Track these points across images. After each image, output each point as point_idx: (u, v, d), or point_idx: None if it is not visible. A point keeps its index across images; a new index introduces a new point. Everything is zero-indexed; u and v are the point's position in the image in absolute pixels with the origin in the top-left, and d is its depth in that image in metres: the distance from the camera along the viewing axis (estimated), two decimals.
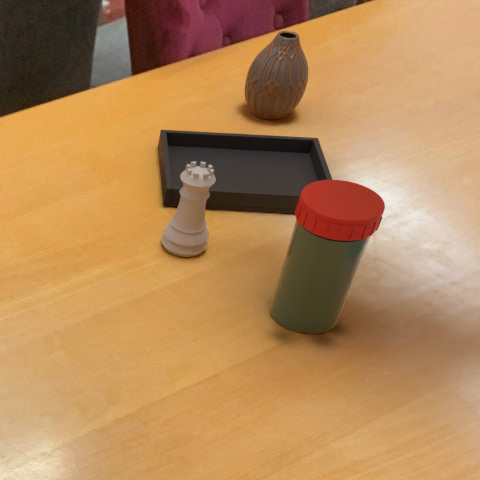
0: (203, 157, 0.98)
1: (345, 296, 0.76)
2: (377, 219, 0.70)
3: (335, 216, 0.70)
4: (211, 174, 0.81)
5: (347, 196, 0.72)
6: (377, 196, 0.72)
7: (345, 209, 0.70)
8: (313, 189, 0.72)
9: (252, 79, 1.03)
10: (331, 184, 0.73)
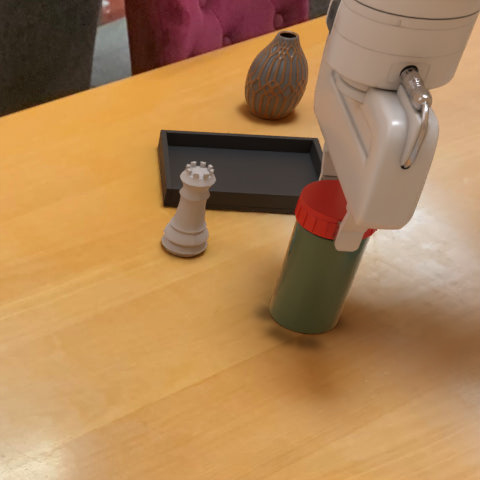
0: (203, 157, 0.98)
1: (345, 296, 0.76)
2: None
3: (335, 217, 0.70)
4: (211, 174, 0.81)
5: None
6: None
7: (345, 209, 0.70)
8: (313, 189, 0.72)
9: (252, 79, 1.03)
10: (331, 184, 0.73)
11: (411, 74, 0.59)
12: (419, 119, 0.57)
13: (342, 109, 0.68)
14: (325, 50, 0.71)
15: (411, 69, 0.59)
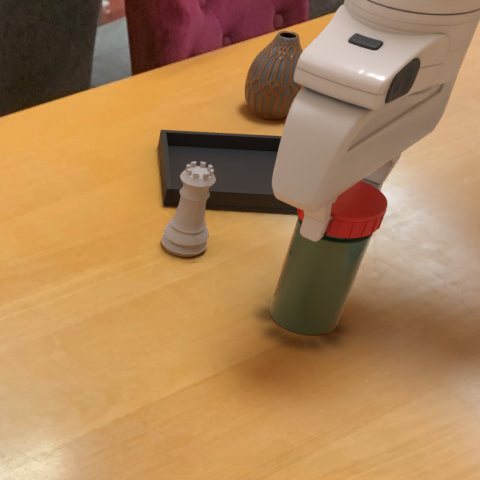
0: (203, 157, 0.98)
1: (346, 297, 0.76)
2: None
3: (375, 189, 0.72)
4: (211, 174, 0.81)
5: None
6: None
7: (356, 189, 0.72)
8: (360, 212, 0.69)
9: (252, 79, 1.03)
10: (334, 209, 0.70)
11: None
12: None
13: (387, 129, 0.65)
14: (351, 142, 0.60)
15: None
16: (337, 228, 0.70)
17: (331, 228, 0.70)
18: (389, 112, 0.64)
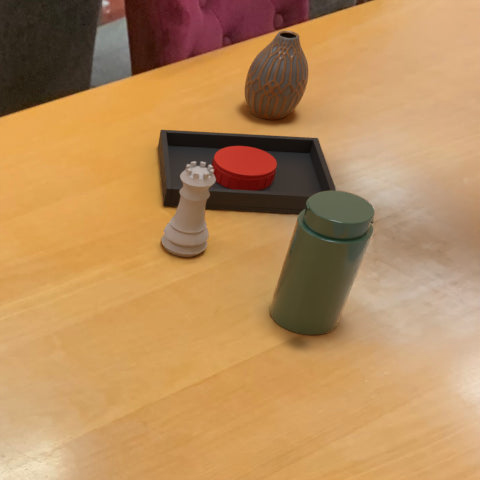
0: (203, 157, 0.98)
1: (346, 297, 0.76)
2: (214, 159, 0.95)
3: (237, 146, 0.96)
4: (211, 174, 0.81)
5: (244, 163, 0.93)
6: (227, 168, 0.93)
7: (237, 153, 0.95)
8: (269, 162, 0.94)
9: (252, 79, 1.03)
10: (263, 169, 0.93)
11: None
12: None
13: None
14: None
15: None
16: (270, 179, 0.93)
17: (268, 182, 0.93)
18: None
